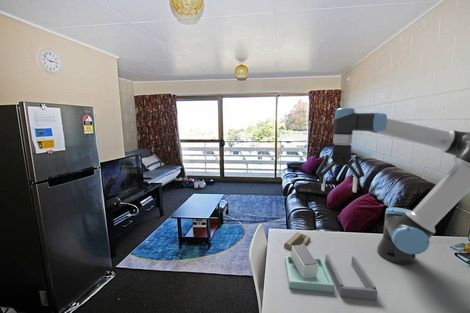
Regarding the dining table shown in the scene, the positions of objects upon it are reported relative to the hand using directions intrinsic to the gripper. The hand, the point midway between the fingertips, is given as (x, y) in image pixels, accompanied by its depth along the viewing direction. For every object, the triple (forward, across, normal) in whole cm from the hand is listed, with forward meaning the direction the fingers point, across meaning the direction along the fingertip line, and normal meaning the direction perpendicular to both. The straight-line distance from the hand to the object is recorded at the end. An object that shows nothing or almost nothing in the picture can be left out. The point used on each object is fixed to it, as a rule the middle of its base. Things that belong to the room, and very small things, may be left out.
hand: (338, 191), depth 108 cm
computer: (+32, +15, -10) cm, 37 cm away
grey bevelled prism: (+30, +16, +13) cm, 36 cm away
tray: (+32, +15, +16) cm, 39 cm away
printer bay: (+32, -1, +16) cm, 36 cm away
